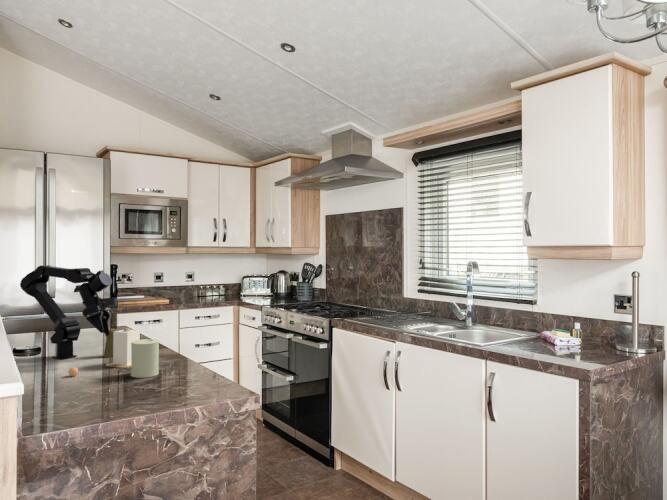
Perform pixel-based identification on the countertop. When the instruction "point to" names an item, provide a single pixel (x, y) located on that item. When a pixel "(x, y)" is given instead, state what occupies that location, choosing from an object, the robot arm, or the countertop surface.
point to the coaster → (118, 365)
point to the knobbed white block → (123, 345)
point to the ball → (73, 371)
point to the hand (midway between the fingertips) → (105, 333)
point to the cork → (109, 344)
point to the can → (144, 358)
